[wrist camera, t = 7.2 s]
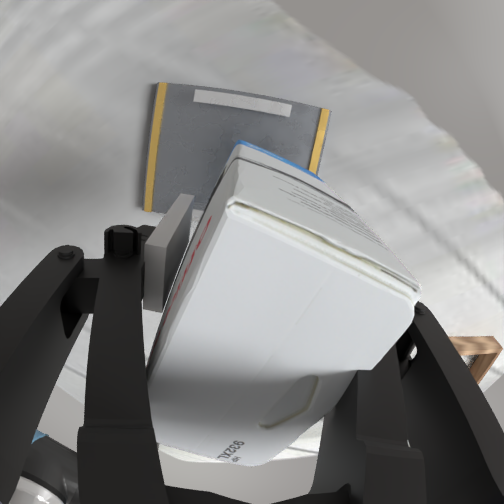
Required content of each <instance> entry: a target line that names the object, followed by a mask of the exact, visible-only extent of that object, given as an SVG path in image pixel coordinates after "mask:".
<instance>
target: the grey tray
mask: <svg viewBox="0 0 504 504" xmlns="http://www.w3.org/2000/svg"><path fill="white" fill-rule="evenodd" d="M331 112H332V111H330V110H327V109H323V108H318V107H314V106H310V105H306V104H302V103H298V102H293V101H288V100H284V99H279V98H274V97H269V96H264V95H258V94H252V93H246V92H240V91H234V90H227V89H219V88H212V87H203V86H194V85H183V84H171V83H157V87H156V93H155V99H154V106H153V112H152V119H151V127H150V135H149V143H148V151H147V161H146V171H145V182H144V195H143V210H144V211H146V212H152V211H153V212H160V213H167V212H168V210H169V209H170V207H171V206H172V205H173V203H174V202H175V201H176V199H177V198H178V197H179V195H180V194H181V193H183V194H189V195H195V198H194V205H193V212H192V221H198V222H199V220H200V218H201V215H202V213H203V211H204V209H205V207H206V205H207V202H208V200H209V198H210V196H211V194H212V192H213V190H214V187H215V185H216V183H217V181H218V179H219V177H220V175H221V173H222V171H223V169H224V167H225V165H226V162H227V160H228V158H229V156H230V154H231V152H232V150H233V148H234V146H235V144H236V142H237V141H238V140H243V141H246V142H248V143H251V144H253V145H256V146H258V147H260V148H263V149H265V150H267V151H269V152H271V153H274V154H276V155H278V156H280V157H282V158H285V159H287V160H289V161H291V162H293V163H295V164H297V165H299V166H301V167H303V168H305V169H307V170H309V171H311V172H313V173H314V174H315V175H318V170H319V166H320V162H321V157H322V153H323V149H324V144H325V140H326V135H327V130H328V126H329V121H330V116H331Z"/></svg>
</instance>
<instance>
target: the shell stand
mask: <svg viewBox="0 0 504 504" xmlns="http://www.w3.org/2000/svg"><path fill="white" fill-rule="evenodd" d="M449 339H450V340H451V342H452V343H453V345H454V347H455V348H456V350H457V351H458V353H459V354H460V355H476V354H479V356H478V357H477V359H476V360H475V362H474V363H473V365H472V366H471V368H470V369H469V371H470V372H471V374H472V376H473V377H474V379H475V381H476V382H477V384H479V383H480V381H481V380H482V378H483V377H484V376H485V374H486V373H487V372H488V370H489V369H490V367H491V366H492V364H493V363H494V361H495V360H496V359H497V357H498V355H499V354H500V352H501V351H502V349H503V348H502V346H501V345H500V344H499V343H498V342H497V340H496V339H495V338H494V337H493V336H485V337H449Z"/></svg>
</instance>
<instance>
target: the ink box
mask: <svg viewBox="0 0 504 504" xmlns="http://www.w3.org/2000/svg"><path fill="white" fill-rule="evenodd" d="M421 293H422V287H421V284H420V283H419V282H418V281H417V279H416V278H415V277H414V276H413V275H412V274H411V272H410V271H409V270H408V269H407V268H406V267H405V265H404V264H403V263H402V262H401V261H400V259H399V258H398V257H397V256H396V255H395V253H394V252H393V251H392V250H391V249H390V248H389V247H388V246H387V245H386V244H385V242H384V241H383V240H382V239H381V238H380V237H379V236H378V235H377V234H376V233H375V232H374V231H373V230H372V229H371V228H370V227H369V226H368V225H367V224H366V222H365V221H364V220H363V219H362V218H361V217H360V216H359V215H358V214H357V213H356V212H354V210H353V209H351V207H350V206H349V205H348V204H347V203H346V202H345V201H344V200H342V199H341V198H340V197H339V196H338V195H337V194H336V193H335V192H334V191H333V190H332V189H331V188H330V187H329V186H328V185H327V184H325V183H324V182H323V181H322V180H321V179H320V178H319V177H318V176H317V175H315V174H314V173H313V172H311V171H309V170H307V169H305V168H303V167H301V166H299V165H297V164H295V163H293V162H291V161H289V160H287V159H285V158H282V157H280V156H278V155H276V154H274V153H271V152H269V151H267V150H265V149H263V148H260V147H258V146H256V145H253V144H251V143H248V142H246V141H243V140H238V141H237V142H236V144H235V146H234V148H233V150H232V152H231V154H230V156H229V158H228V160H227V162H226V165H225V167H224V169H223V171H222V173H221V175H220V177H219V179H218V181H217V183H216V185H215V187H214V190H213V192H212V194H211V196H210V198H209V200H208V202H207V205H206V207H205V209H204V211H203V213H202V215H201V218H200V220H199V222H198V225H197V227H196V229H195V232H194V234H193V236H192V239H191V241H190V243H189V246H188V248H187V251H186V253H185V256H184V259H183V261H182V264H181V266H180V269H179V271H178V274H177V277H176V279H175V282H174V284H173V287H172V290H171V293H170V296H169V298H168V301H167V304H166V306H165V310H164V313H163V315H162V318H161V321H160V324H159V327H158V330H157V333H156V336H155V340H154V342H153V346H152V349H151V352H150V356H149V359H148V362H147V365H146V376H147V385H148V394H149V402H150V410H151V417H152V424H153V428H154V432H155V437H156V442H157V443H160V444H163V445H166V446H169V447H173V448H176V449H180V450H183V451H187V452H190V453H194V454H197V455H201V456H205V457H208V458H212V459H216V460H220V461H224V462H228V463H233V464H238V465H245V466H256V465H262V464H264V463H267V462H268V461H270V460H271V459H272V458H273V457H275V456H276V455H277V454H279V453H280V452H281V451H283V450H284V449H285V448H287V447H288V446H289V445H291V444H292V443H293V442H294V441H295V440H296V439H297V438H298V437H299V436H300V435H301V434H303V433H304V432H305V431H306V430H307V429H308V428H310V427H311V426H313V425H314V424H315V423H317V422H318V421H319V420H320V419H321V418H323V417H324V416H325V415H326V414H327V413H328V412H329V411H330V410H331V409H332V408H333V407H334V406H335V405H336V404H337V403H338V401H339V400H340V398H341V397H342V395H343V394H344V392H345V391H346V389H347V387H348V386H349V384H350V382H351V380H352V379H353V377H354V375H355V374H356V372H357V370H372V369H373V368H374V366H375V365H376V364H377V363H378V362H379V361H380V360H381V359H382V358H383V356H384V355H385V354H386V353H387V352H388V351H389V349H390V348H391V347H392V346H393V345H394V344H395V343H396V341H397V340H398V339H399V338H400V337H401V336H402V334H403V333H404V332H405V331H406V329H407V328H408V327H409V326H410V324H411V323H412V320H413V318H414V306H415V304H416V303H417V301H418V300H419V299H420V297H421Z"/></svg>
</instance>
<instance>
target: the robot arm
mask: <svg viewBox="0 0 504 504" xmlns="http://www.w3.org/2000/svg"><path fill="white" fill-rule="evenodd" d="M194 198H195V195H189V194H183V193H181V194H180V195H179V197H178V198H177V199H176V201H175V202H174V203H173V205H172V206H171V207H170V209H169V210H168V212H167V213H166V214H165V216H164V217H163V218H162V220H161V221H160V223H159V224H158V225H157V227H154V226H148V225H142V226H140V227H138V228H136V227H133V226H129V225H116V226H111V227H109V228H107V229H106V230H105V231H104V252H105V254H104V258H102V259H84V253H83V250H82V249H80V248H79V247H76V246H70V245H65V246H64V245H63V246H60V247H58V248H55V249H54V250H52V251H51V252H50V253H49V254H48V255H47V256H46V257H45V258H44V259H43V260H42V261H41V262H40V263H39V264H38V265H37V266H36V267H35V268H34V269H33V270H32V272H31V273H30V274H29V275H28V276H27V277H26V278H25V279H24V280H23V281H22V282H21V284H20V285H19V286H18V287H17V288H16V289H15V290H14V291H13V293H12V294H11V295H10V296H9V297H8V298H7V300H6V301H5V302H4V303H3V304H2V306H1V307H0V504H250V503H246V502H242V501H239V500H235V499H231V498H228V497H225V496H221V495H218V494H215V493H212V492H207V491H198V490H191V489H184V488H178V487H171V486H166V485H165V484H164V479H163V475H162V470H161V465H160V460H159V454H158V448H159V443H157V442H156V437H155V432H154V428H153V424H152V417H151V410H150V402H149V394H148V385H147V376H146V365H145V354H144V340H143V324H142V303H141V301H142V299H143V309H145V310H150V311H155V312H160V313H162V312H163V309H164V306H165V303H166V300H167V298H168V295H169V292H170V290H171V287H172V284H173V281H174V279H175V276H176V273H177V271H178V268H179V266H180V263H181V260H182V258H183V255H184V253H185V250H186V248H187V245H188V243H189V235H190V227H191V220H192V212H193V205H194ZM89 314H93V320H92V328H91V335H90V344H89V353H88V363H87V375H86V390H85V412H84V414H85V415H84V425H83V426H82V427H79V430H78V436H77V452H75V451H73V450H71V449H69V448H68V447H66V446H64V445H62V444H60V443H59V442H57V441H55V440H54V439H52V438H50V437H49V435H47V434H44V433H42V432H40V431H38V430H37V427H38V424H39V422H40V419H41V417H42V414H43V412H44V409H45V407H46V404H47V402H48V399H49V397H50V395H51V393H52V390H53V388H54V386H55V384H56V381H57V379H58V377H59V375H60V373H61V370H62V368H63V366H64V364H65V362H66V360H67V358H68V356H69V354H70V351H71V349H72V347H73V345H74V343H75V341H76V339H77V337H78V335H79V334H80V332H81V330H82V328H83V326H84V324H85V322H86V320H87V318H88V315H89ZM415 346H416V348H417V354H416V355H415V357H414V358H413V359H412V358H411V356H410V354H411V352H412V351H413V349H414V347H415ZM408 442H409V445H410V447H409V445H408ZM272 504H504V433H503V430H502V428H501V426H500V424H499V423H498V420H497V419H496V417H495V415H494V413H493V411H492V409H491V407H490V405H489V404H488V402H487V400H486V398H485V397H484V395H483V393H482V391H481V389H480V388H479V386H478V384H477V382H476V381H475V379H474V377H473V376H472V374H471V372H470V371H469V369H468V367H467V366H466V364H465V362H464V361H463V359H462V358H461V356H460V354H459V353H458V351H457V350H456V348H455V347H454V345H453V343H452V342H451V340H450V339H449V337H448V336H447V334H446V333H445V331H444V330H443V328H442V327H441V325H440V324H439V322H438V321H437V320H436V318H435V317H434V315H433V314H432V312H431V311H430V310H429V309H428V308H427V307H426V306H425V305H424V304H423V303H421V302H419V301H417V303H416V304H415V306H414V318H413V320H412V323H411V324H410V326H409V327H408V328H407V329H406V331H405V332H404V333H403V334H402V336H401V337H400V338H399V339H398V340H397V341H396V343H395V344H394V345H393V346H392V347H391V348H390V349H389V351H388V352H387V353H386V354H385V355H384V356H383V358H382V359H381V360H380V361H379V362H378V363H377V364H376V365H375V366H374V368H373V369H372V370H357V372H356V374H355V375H354V377H353V379H352V380H351V382H350V384H349V386H348V387H347V389H346V391H345V392H344V394H343V395H342V397H341V398H340V400H339V401H338V403H337V404H336V405H335V406H334V407H333V408H332V409H331V410H330V411H329V412H328V413H327V414H326V415H325V416H324V422H323V429H322V435H321V441H320V447H319V453H318V460H317V465H316V471H315V476H314V481H313V485H312V487H311V490H310V492H309V493H308V494H306V495H303V496H300V497H296V498H293V499H289V500H285V501H281V502H276V503H272Z"/></svg>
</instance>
